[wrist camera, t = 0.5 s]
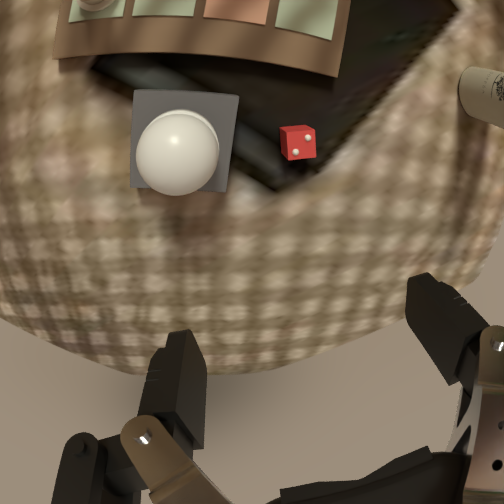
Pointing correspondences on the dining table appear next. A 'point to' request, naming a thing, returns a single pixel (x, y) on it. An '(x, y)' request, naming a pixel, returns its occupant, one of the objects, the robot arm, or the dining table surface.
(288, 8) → the game board
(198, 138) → the dome
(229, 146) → the dome housing
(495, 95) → the travel mug
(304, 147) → the red die
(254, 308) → the dining table surface
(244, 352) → the dining table surface
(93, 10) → the pawn
